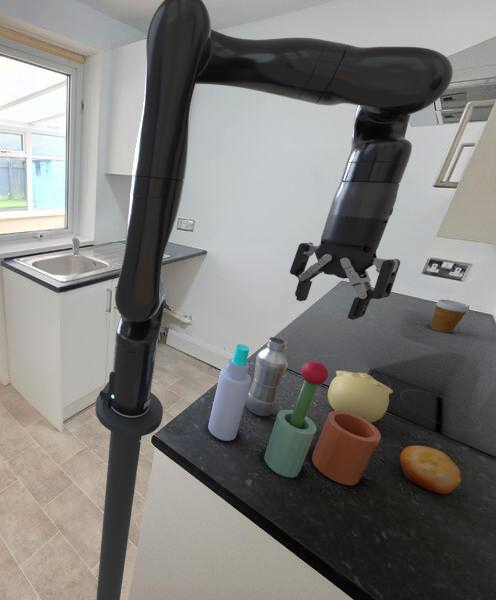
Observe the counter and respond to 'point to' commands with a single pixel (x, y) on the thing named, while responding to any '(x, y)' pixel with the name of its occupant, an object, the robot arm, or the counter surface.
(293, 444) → the celadon vase
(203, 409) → the counter surface
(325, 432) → the terracotta vase
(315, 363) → the rose
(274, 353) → the silver metal bottle
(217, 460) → the counter surface
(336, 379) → the sculpture
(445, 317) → the disposable coffee cup
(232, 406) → the spray bottle
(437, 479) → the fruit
